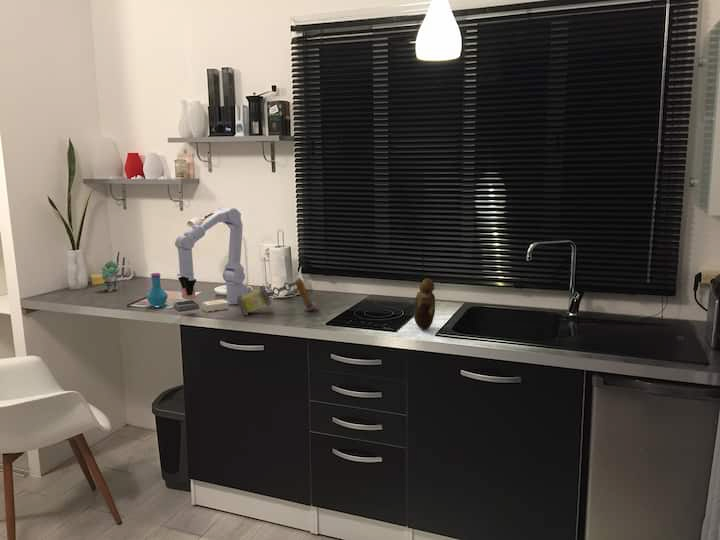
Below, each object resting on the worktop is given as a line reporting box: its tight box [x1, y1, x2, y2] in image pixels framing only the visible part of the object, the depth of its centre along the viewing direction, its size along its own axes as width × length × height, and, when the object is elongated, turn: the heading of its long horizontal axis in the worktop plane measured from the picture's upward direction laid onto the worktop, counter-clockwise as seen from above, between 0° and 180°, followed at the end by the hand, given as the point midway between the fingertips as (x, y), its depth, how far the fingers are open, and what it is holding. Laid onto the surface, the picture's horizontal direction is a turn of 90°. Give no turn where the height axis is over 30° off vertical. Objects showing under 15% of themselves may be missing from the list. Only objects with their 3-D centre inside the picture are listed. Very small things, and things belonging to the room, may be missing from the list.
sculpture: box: [413, 278, 436, 330], centre depth 241 cm, size 13×8×20 cm, turn 167°
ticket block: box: [200, 298, 229, 313], centre depth 278 cm, size 10×7×3 cm
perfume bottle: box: [146, 272, 169, 307], centre depth 285 cm, size 9×9×15 cm
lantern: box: [237, 277, 318, 316], centre depth 271 cm, size 8×17×30 cm
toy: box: [101, 260, 120, 293], centre depth 318 cm, size 8×9×15 cm
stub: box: [181, 287, 196, 300], centre depth 271 cm, size 4×5×4 cm
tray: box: [173, 299, 200, 312], centre depth 282 cm, size 9×9×2 cm
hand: (188, 293), depth 271 cm, fingers closed on stub, 5 cm apart
